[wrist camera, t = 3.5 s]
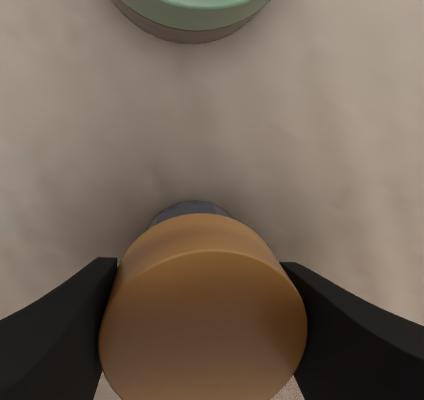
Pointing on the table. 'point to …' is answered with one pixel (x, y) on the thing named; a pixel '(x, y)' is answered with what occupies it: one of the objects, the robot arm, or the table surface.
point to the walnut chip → (179, 34)
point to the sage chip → (196, 12)
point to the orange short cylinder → (201, 315)
